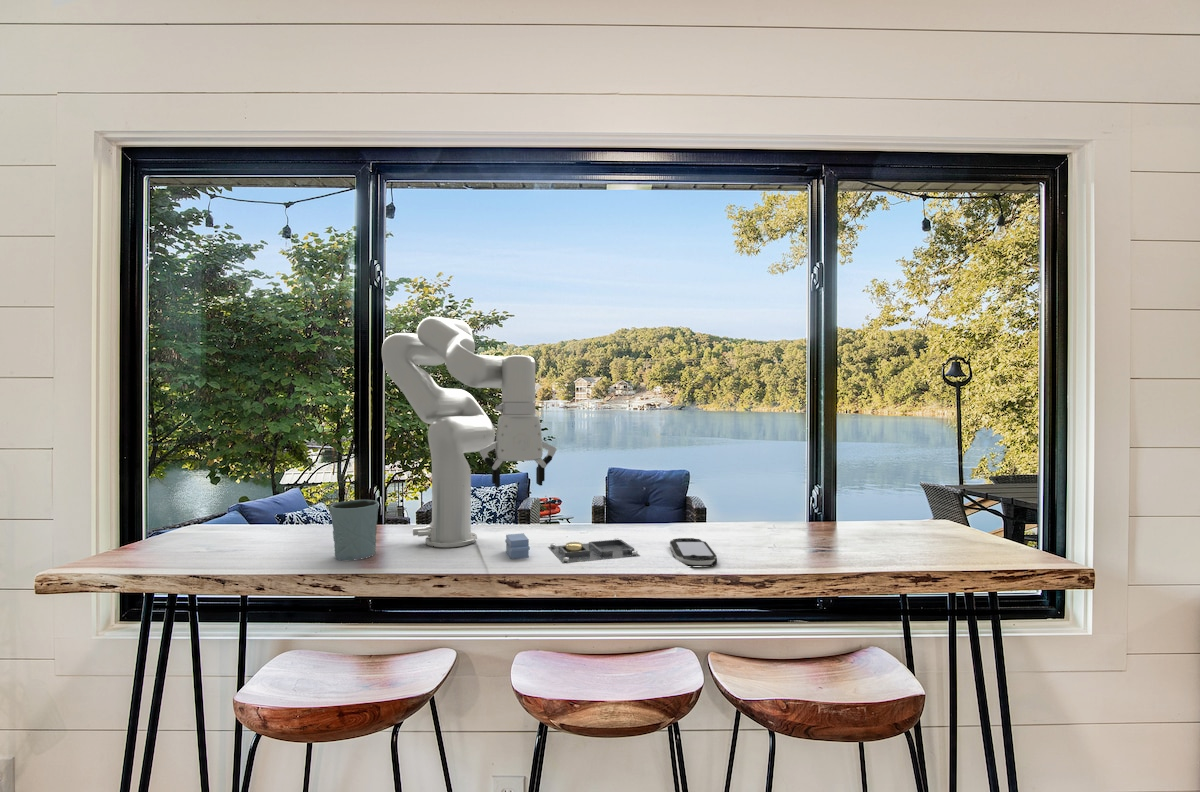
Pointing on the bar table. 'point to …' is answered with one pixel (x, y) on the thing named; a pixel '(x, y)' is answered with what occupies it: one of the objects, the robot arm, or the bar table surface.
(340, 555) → the grey-green cup
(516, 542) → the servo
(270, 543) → the bar table surface
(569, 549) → the bushing
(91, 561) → the bar table surface
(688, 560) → the gaming console
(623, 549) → the plate
